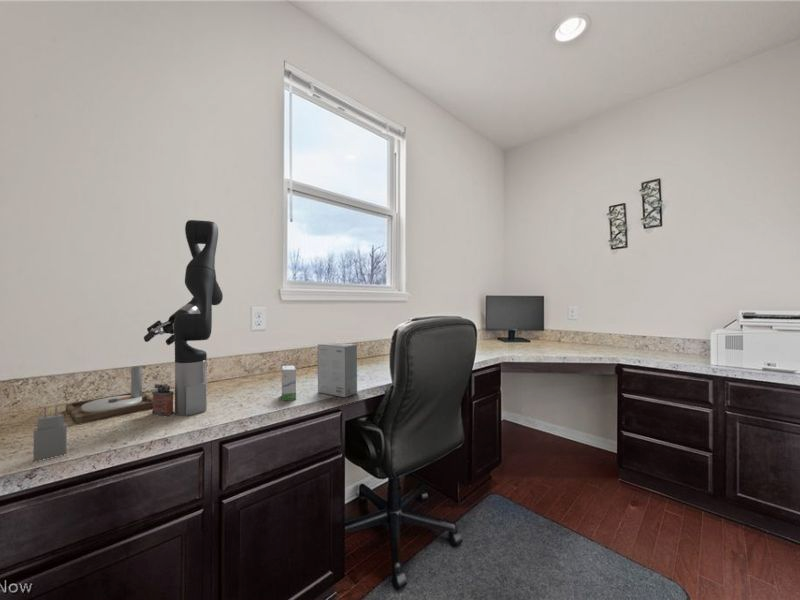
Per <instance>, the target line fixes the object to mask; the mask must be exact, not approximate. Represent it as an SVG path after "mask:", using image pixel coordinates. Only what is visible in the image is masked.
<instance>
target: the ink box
mask: <svg viewBox="0 0 800 600" xmlns="http://www.w3.org/2000/svg"><path fill="white" fill-rule="evenodd" d="M296 371H297V369H296V367H295V365H282V366H281V397H282V401H283V402H285V400H287V401H293V400H294V399H295V400H297V381H296V380H297V374H296V373H297V372H296ZM295 400H294V401H295Z"/></svg>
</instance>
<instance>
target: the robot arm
mask: <svg viewBox="0 0 800 600" xmlns="http://www.w3.org/2000/svg"><path fill="white" fill-rule="evenodd" d="M184 233H185V238H186V241H187V245H188V248H189V251H190V254H191V257H192V259H191V260H190V261H189V262H188V264H187V266H186V267H185V274H184V275H185V277H184V284H185V286H186V289H187V290H188V292H189V293H190V294H191V295H192V298H191V300H190V301H188V302H187V303H186V304H184V305H183V306H182V307H180V308H179V309H177V310H176V311H175V312H174V313H172V314H171V315H170V316H169V317H168V320H167V321H165V322H162V320H157V321H155V322H154V323H153V324H151V325H150V326H148V327H147V328H146V330H147V334H145V335H144V336H143V340H144V342H146V343H148V342H150V341H151V340H152V339H153V338H155V337H156V336H158V335H161V336H162V335H165V334H170V336H169V337H168V338H167V339H165V343H166V345H167V346H170V345H172V344H174V414H175V415H178V416H185V417H187V416H191V415H192V416H193V415H195V414H199V413H200V414H201V413H205V412H206V411H207V407H208V406H207V405H208V404H207V401H208V399H207V398H208V397H207V393H208V392H207V389H208V388H207V384H208V383H207V381H208V380H207V376H208V375H207V372H208V370H207V369H208V368H207V366H208V364H207V363H208V361H207V360H208V359H207V358H208V357H207V356H208V353H207V352H206V351H205V350H203V349H198V348H196V347H193V346H191V345H189V344H188V342H191V341H196V342H197V341H207V340H209V338H210V337H211V333H212V325H213V320H212V319H213V318H212V317H213V316H212V315H213V314H212V313H213V309H212V307H213V306H218V305H220V304H221V303H222V302H223V292H222V289H221V286H219V283H218V281H217V274H216V268H215V267H216V266H215V263H216V260H215V259H216V252H217V248H218V247H217V246H218V239H219V227H218V224H217V223H216V222H214V221H212V220H197V219H196V220H195V219H189V220H187V221H186V222H185V227H184ZM199 245H204V247H203V248H202V249H200V246H199ZM161 329H162V330H161Z"/></svg>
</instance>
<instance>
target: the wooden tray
mask: <svg viewBox="0 0 800 600" xmlns="http://www.w3.org/2000/svg"><path fill="white" fill-rule="evenodd" d="M125 395H131V392H128V393H122V394H117V395H110V396H105V397H99V398H95V399H88V400H83V401H77V402H70V403H66V404H65V412H66V411H67V412H68V413H67V412H66V413H67V414H68V416H69V415H70V416H69V417H70V418H71V419H73V420H72V421H73V422H74V424H75V425H76V426H78V425H82V424H87V423H90V422H96V421H100V420H106V419H110V418H114V417H119V416H124V415H128V414H129V415H130V414H133V413H137V412H143V411H149V410H153V396H151V395H149V394H147V393H146V392H143V391H142V396H141V397H142V403H140V404H137V405H132V406H127V407H122V408H117V409H112V410H107V411H102V412H97V413H92V414H88V413H83V412H81V406H82V405H83V404H85V403H88V402H91V401H94V400H98V399H103V398H108V397H115V396H125ZM77 424H78V425H77Z"/></svg>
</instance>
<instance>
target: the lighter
mask: <svg viewBox="0 0 800 600" xmlns="http://www.w3.org/2000/svg"><path fill="white" fill-rule="evenodd" d="M154 388H155V389H156V390H152V392H151V394H152V398H153V409H152V411H151V414H153V416H156V415H158V416H157V417H164V416H167V417H171V416H170V415H172V416H174V415H173V414H175V411H174V395H175V391H172V390H170V389H171V385H170V384H169V385H168V384H167V383H163V384H162V383H155V384H154Z"/></svg>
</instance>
